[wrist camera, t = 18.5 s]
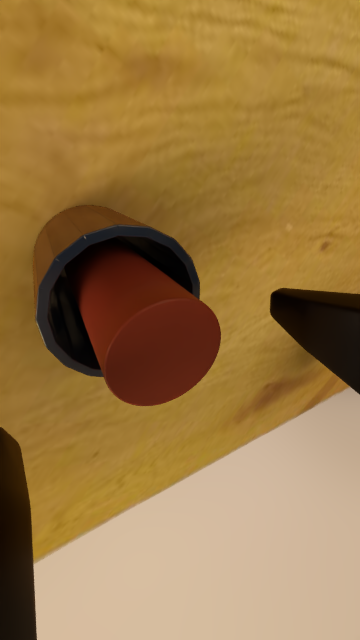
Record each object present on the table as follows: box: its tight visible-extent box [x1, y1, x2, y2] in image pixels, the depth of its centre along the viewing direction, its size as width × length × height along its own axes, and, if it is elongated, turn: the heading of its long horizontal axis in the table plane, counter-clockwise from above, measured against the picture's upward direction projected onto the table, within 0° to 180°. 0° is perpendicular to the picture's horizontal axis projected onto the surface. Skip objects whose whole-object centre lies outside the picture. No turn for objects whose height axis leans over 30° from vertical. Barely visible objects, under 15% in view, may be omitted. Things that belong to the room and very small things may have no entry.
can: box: [33, 205, 200, 377], centre depth 13 cm, size 7×7×7 cm
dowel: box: [65, 237, 221, 406], centre depth 12 cm, size 4×4×10 cm
